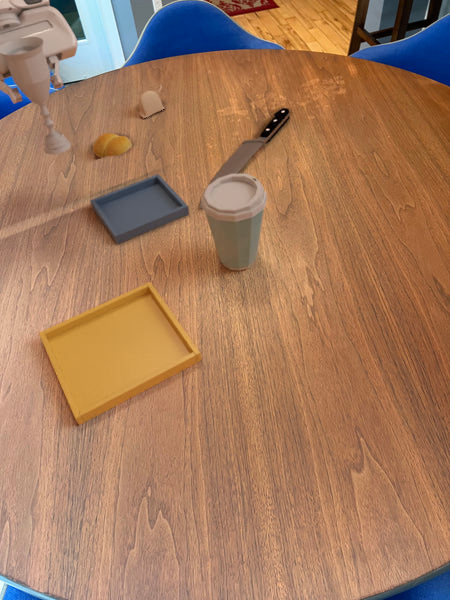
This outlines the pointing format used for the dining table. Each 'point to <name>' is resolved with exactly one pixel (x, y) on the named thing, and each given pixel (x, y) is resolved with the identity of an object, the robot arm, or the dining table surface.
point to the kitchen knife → (252, 146)
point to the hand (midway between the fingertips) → (39, 93)
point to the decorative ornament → (150, 102)
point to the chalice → (34, 83)
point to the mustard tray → (117, 351)
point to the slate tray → (139, 208)
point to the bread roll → (111, 145)
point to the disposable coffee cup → (235, 218)
